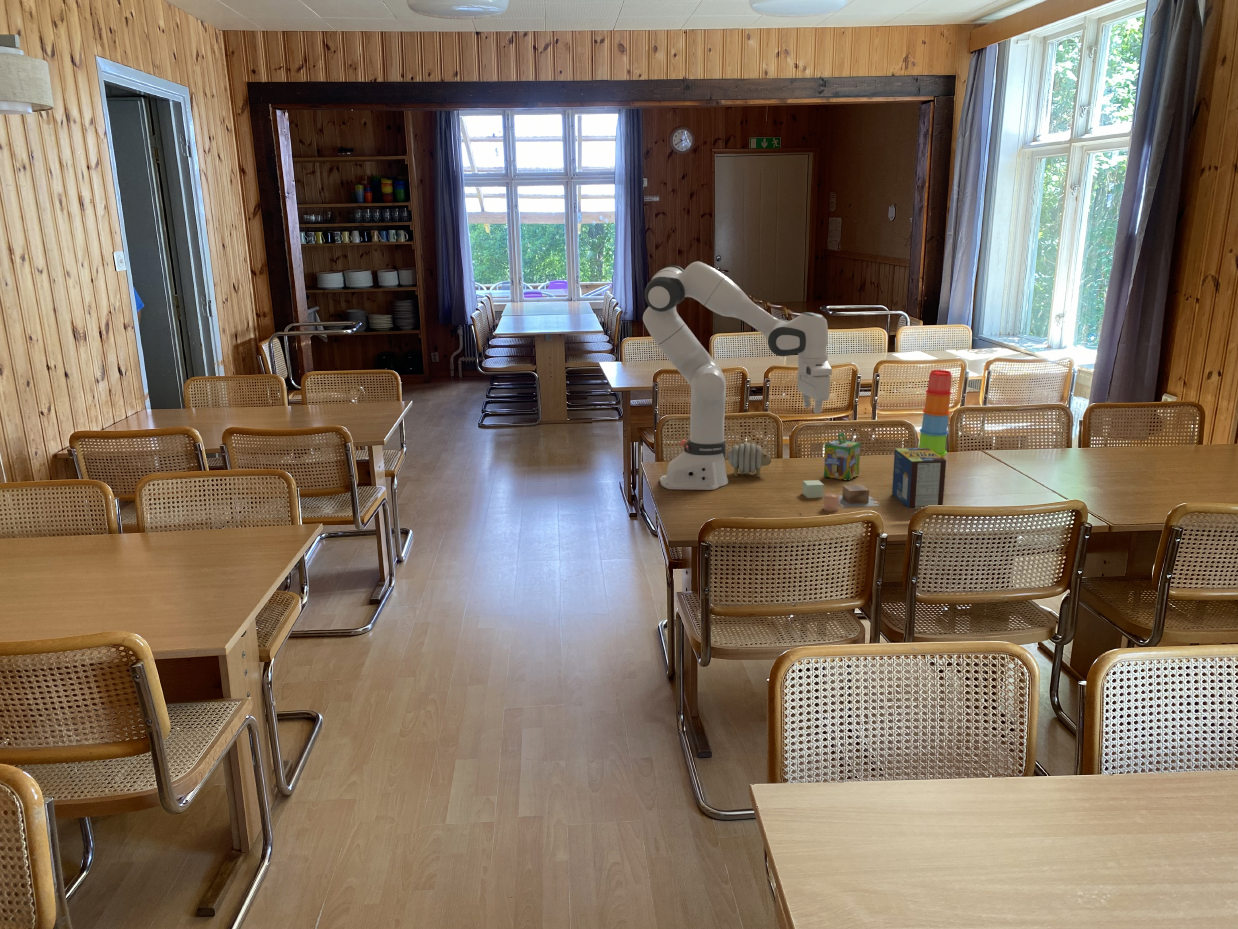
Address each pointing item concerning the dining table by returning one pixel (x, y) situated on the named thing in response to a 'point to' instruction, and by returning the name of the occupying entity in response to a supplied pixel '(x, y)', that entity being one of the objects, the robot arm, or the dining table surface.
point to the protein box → (918, 477)
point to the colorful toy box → (842, 458)
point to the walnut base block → (855, 494)
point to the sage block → (813, 489)
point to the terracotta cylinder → (831, 502)
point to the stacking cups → (936, 412)
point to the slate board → (846, 504)
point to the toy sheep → (747, 458)
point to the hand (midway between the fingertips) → (812, 410)
